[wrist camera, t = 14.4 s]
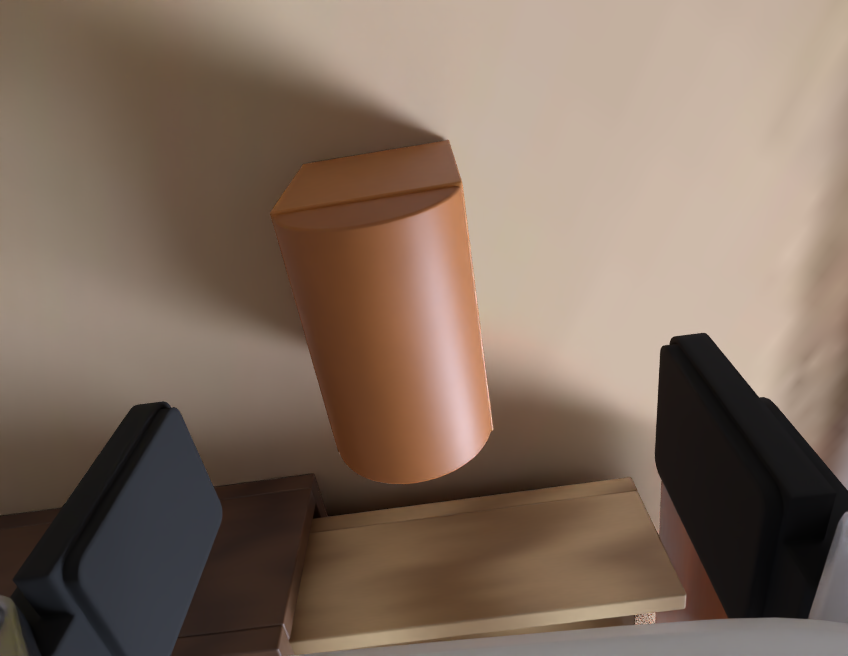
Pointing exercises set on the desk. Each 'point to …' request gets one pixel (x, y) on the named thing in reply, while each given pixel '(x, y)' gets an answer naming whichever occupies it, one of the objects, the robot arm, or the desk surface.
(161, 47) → the desk surface
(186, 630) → the cabinet
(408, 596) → the drawer
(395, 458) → the brown rounded block
